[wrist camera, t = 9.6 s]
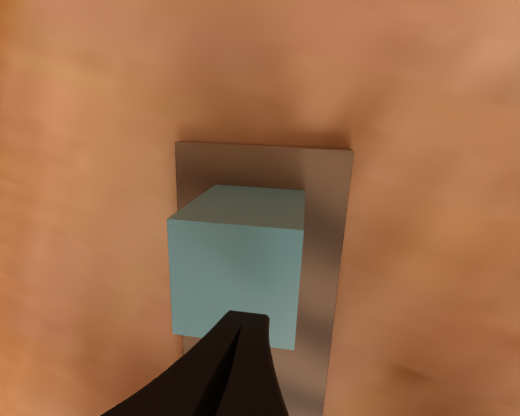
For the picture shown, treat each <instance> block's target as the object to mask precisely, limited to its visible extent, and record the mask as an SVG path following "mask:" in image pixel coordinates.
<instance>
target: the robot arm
mask: <svg viewBox="0 0 520 416" xmlns="http://www.w3.org/2000/svg"><path fill="white" fill-rule="evenodd" d="M269 323H270V318H269V317H268V316H267V315H266V314H258V313H249V312H241V311H233V310H229V311H228V312H227V313H226V314H225V315H224V316H223V317H222V318H221V319H220V320H219V321H218V322H217V323H216V324H215V325H214V327H213V328H212V329H211V330H210V331H209V332H208V333H207V334H206V335H205V336H204V337H203V338H201V339H200V340H199V341H198V342H197V343H196V344H195V345H194V346H193V347H192V348H191V349H190V350H189V351H188V352H187V353H186V354H184V355H183V356H182V357H181V358H180V359H179V360H177V361H176V362H175V363H174V364H173V365H172V366H170V367H169V368H168V369H167V370H166V371H164V372H163V373H162V374H161V375H159V376H158V377H157V378H155V379H154V380H153V381H152V382H150V383H149V384H147V385H146V386H145V387H143V388H142V389H141V390H139V391H138V392H136V393H135V394H134V395H132V396H131V397H129V398H128V399H126V400H124V401H123V402H121V403H120V404H118V405H116V406H115V407H113V408H112V409H110V410H109V411H107V412H105V413H104V414H102V415H101V416H289V414H288V411H287V409H286V406H285V403H284V400H283V397H282V394H281V390H280V387H279V383H278V380H277V376H276V372H275V368H274V364H273V359H272V354H271V349H270V342H269Z"/></svg>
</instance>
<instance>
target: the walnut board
mask: <svg viewBox="0 0 520 416" xmlns="http://www.w3.org/2000/svg"><path fill="white" fill-rule="evenodd" d="M353 154H354V151H353V150H352V149H335V148H314V147H294V146H273V145H253V144H232V143H212V142H191V141H179V142H175V157H176V182H177V207H178V211H179V210H180V209H182V208H183V207H185V206H186V205H187V204H189V203H190V202H192V201H193V200H194V199H196V198H197V197H199V196H200V195H202V194H203V193H204V192H206V191H207V190H209V189H210V188H212V187H213V186H214V185H230V186H245V187H260V188H275V189H290V190H305V212H304V235H303V247H302V260H301V272H300V285H299V297H298V310H297V322H296V335H295V347H294V350H288V349H280V348H273V347H270V349H271V354H272V359H273V364H274V368H275V372H276V376H277V380H278V383H279V387H280V390H281V394H282V397H283V400H284V403H285V406H286V409H287V411H288V414H289V416H322V414H323V405H324V397H325V389H326V380H327V372H328V363H329V355H330V347H331V338H332V330H333V322H334V313H335V305H336V296H337V288H338V280H339V271H340V263H341V254H342V246H343V238H344V229H345V221H346V213H347V204H348V196H349V187H350V179H351V171H352V162H353ZM200 339H201V338H199V337H192V336H184V335H183V355H184V354H186V353H187V352H188V351H189V350H190V349H191V348H192V347H193V346H194V345H195V344H196V343H197V342H198V341H199V340H200Z"/></svg>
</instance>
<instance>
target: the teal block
mask: <svg viewBox="0 0 520 416" xmlns="http://www.w3.org/2000/svg"><path fill="white" fill-rule="evenodd" d="M304 212H305V190H290V189H275V188H260V187H245V186H230V185H214V186H213V187H212V188H210V189H209V190H207V191H206V192H204V193H203V194H202V195H200V196H199V197H197V198H196V199H194V200H193V201H192V202H190V203H189V204H187V205H186V206H185V207H183V208H182V209H180V210H179V211H177V212H176V213H175V214H173V215H172V216H170V217H169V218H167V231H168V251H169V271H170V290H171V310H172V329H173V334H177V335H184V336H192V337H199V338H203V337H204V336H205V335H206V334H207V333H208V332H209V331H210V330H211V329H212V328H213V327H214V325H215V324H216V323H217V322H218V321H219V320H220V319H221V318H222V317H223V316H224V315H225V314H226V313H227V312H228V311H229V310H233V311H241V312H249V313H258V314H266V315H267V316H268V317H269V318H270V323H269V342H270V347H273V348H280V349H288V350H294V347H295V335H296V322H297V310H298V297H299V285H300V272H301V260H302V247H303V235H304Z"/></svg>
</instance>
